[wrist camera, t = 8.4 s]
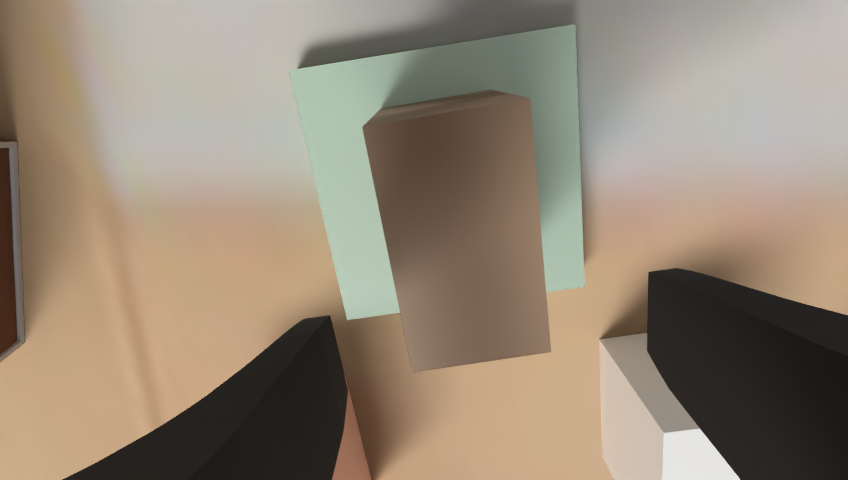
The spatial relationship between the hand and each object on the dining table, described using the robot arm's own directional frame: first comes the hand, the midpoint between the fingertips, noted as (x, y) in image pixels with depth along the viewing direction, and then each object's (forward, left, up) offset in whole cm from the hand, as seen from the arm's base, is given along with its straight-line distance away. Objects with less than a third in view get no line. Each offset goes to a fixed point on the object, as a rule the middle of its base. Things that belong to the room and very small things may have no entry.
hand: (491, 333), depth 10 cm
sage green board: (0, -2, -9) cm, 9 cm away
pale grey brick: (-8, +10, -9) cm, 16 cm away
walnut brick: (0, -1, -8) cm, 8 cm away
